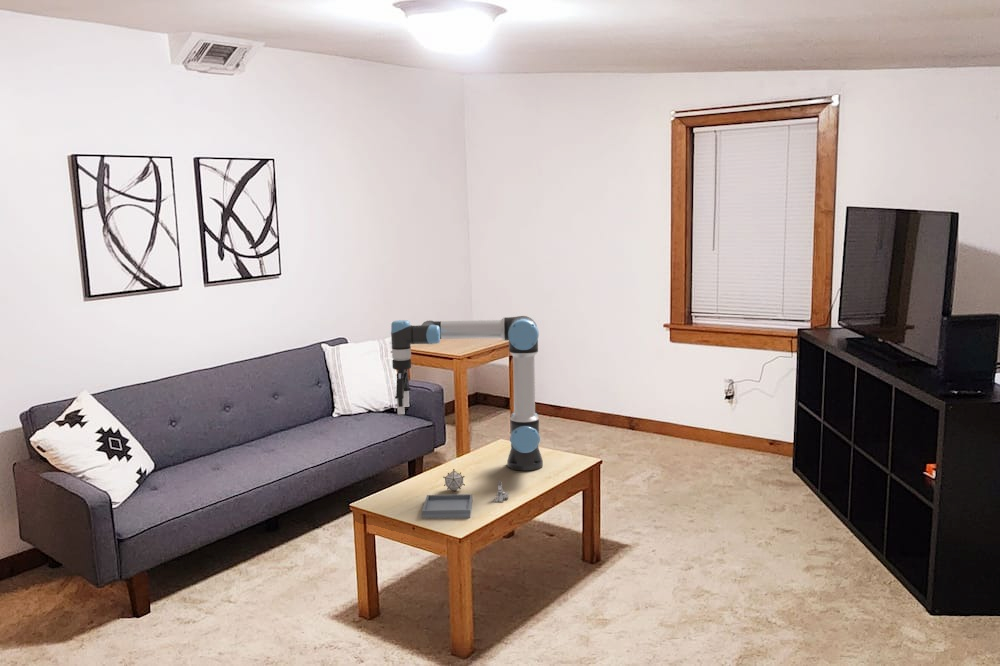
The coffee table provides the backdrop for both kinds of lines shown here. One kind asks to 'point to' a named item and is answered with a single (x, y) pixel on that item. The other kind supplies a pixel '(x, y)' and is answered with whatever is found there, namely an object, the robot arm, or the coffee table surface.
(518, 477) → the coffee table surface
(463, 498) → the square tray
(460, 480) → the game die
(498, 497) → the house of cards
